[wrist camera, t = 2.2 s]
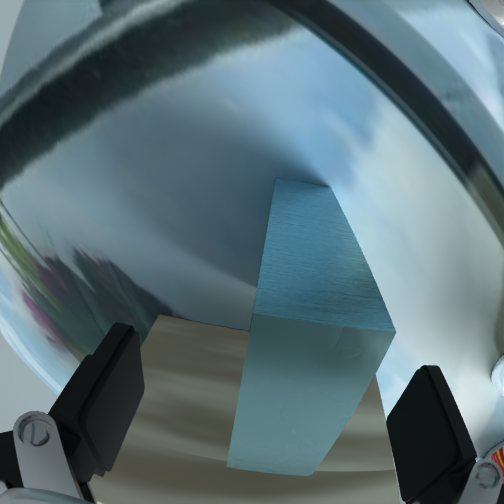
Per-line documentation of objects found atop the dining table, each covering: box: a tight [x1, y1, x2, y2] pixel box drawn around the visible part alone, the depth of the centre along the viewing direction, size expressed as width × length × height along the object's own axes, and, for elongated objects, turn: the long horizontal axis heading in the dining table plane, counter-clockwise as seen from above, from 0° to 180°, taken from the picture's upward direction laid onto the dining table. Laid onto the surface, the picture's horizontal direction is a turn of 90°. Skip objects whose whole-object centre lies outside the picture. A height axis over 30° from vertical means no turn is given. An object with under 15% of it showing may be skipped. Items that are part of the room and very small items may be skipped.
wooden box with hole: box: [89, 314, 400, 504], centre depth 19 cm, size 16×15×14 cm
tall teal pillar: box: [226, 178, 396, 476], centre depth 13 cm, size 7×3×12 cm, turn 173°
